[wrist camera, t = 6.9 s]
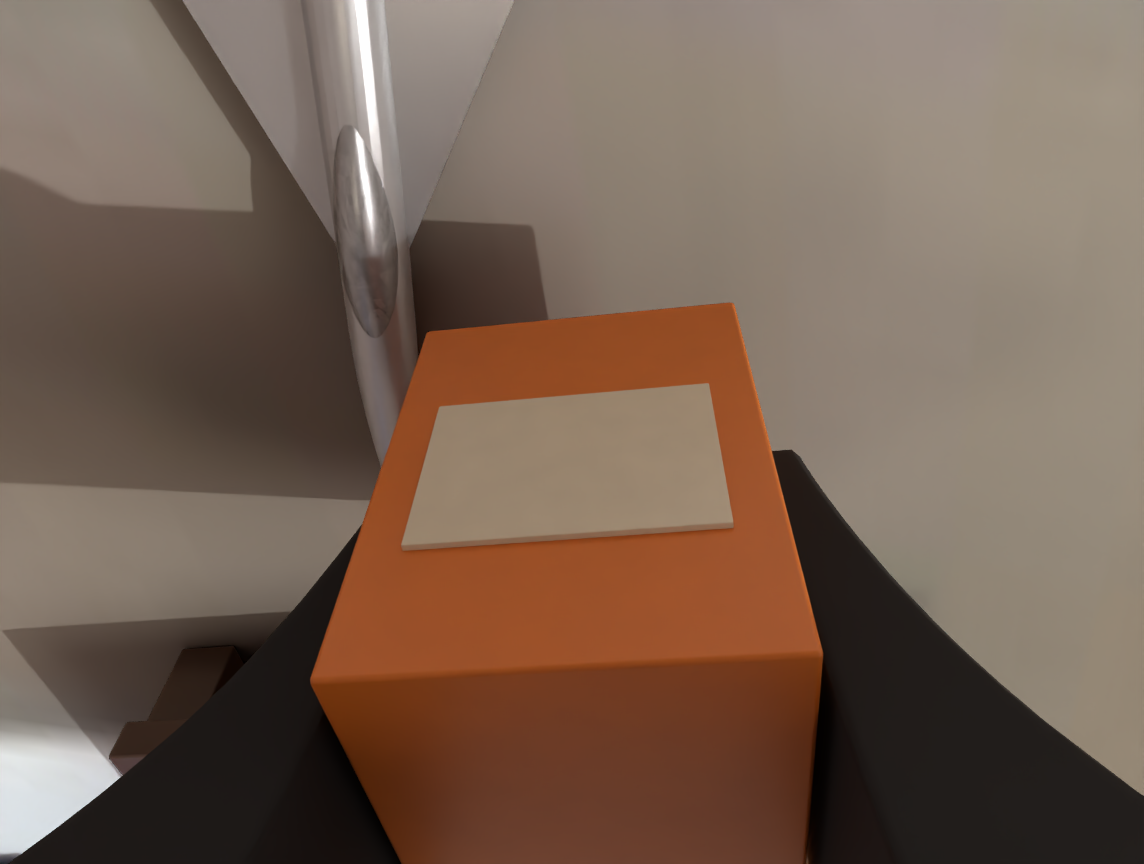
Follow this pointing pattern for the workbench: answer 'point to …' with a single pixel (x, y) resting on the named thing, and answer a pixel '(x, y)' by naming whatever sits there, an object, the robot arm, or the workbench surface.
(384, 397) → the toy airplane
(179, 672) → the shelf
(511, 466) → the packet
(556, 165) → the workbench surface
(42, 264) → the workbench surface
